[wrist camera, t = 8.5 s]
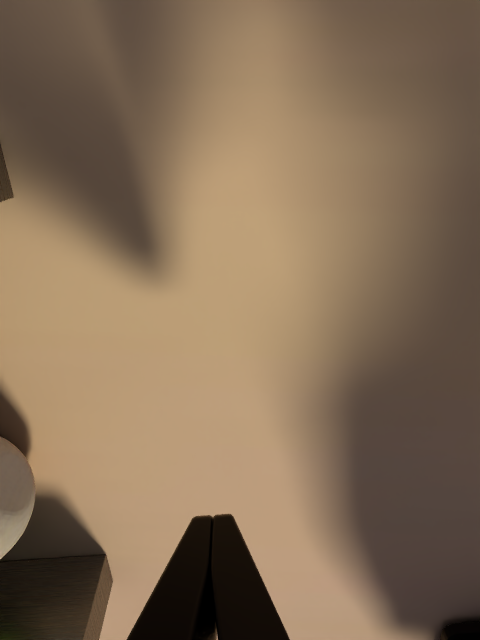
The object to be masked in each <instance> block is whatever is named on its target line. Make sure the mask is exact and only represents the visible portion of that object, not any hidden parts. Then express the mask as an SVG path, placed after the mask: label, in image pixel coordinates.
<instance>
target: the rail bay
mask: <svg viewBox="0 0 480 640" xmlns="http://www.w3.org/2000/svg"><path fill="white" fill-rule="evenodd" d="M10 198H13V193H12V189H11V185H10V181H9V177H8V173H7V170H6V166H5V162H4V158H3V154H2V150H1V146H0V202H2V201H5V200H7V199H10ZM112 583H113V580H112V577H111V573H110V569H109V565H108V561H107V557H106V555H96V556H81V557H67V558H52V559H37V560H23V561H8V562H0V640H99V638H100V633H101V629H102V625H103V621H104V617H105V612H106V608H107V604H108V600H109V596H110V591H111V587H112Z"/></svg>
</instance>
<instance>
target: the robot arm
mask: <svg viewBox="0 0 480 640" xmlns="http://www.w3.org/2000/svg"><path fill="white" fill-rule="evenodd" d="M217 635H218V640H290V639H289V637H288V634H287V632H286V630H285V628H284V626H283V624H282V621H281V619H280V617H279V615H278V613H277V611H276V608H275V606H274V604H273V602H272V600H271V597H270V595H269V593H268V591H267V589H266V587H265V584H264V582H263V580H262V578H261V576H260V574H259V571H258V569H257V567H256V565H255V563H254V560H253V558H252V556H251V554H250V552H249V550H248V547H247V545H246V543H245V541H244V539H243V537H242V534H241V532H240V530H239V528H238V526H237V524H236V521H235V519H234V517H233V516H232V515H231V514H221V515H215V516H214V517H212V516H210V515H207V516H196V517H194V518H193V519H192V520H191V522H190V524H189V526H188V528H187V529H186V531H185V533H184V535H183V537H182V539H181V540H180V542H179V544H178V546H177V548H176V550H175V552H174V553H173V555H172V557H171V559H170V561H169V563H168V564H167V566H166V568H165V570H164V572H163V574H162V575H161V577H160V579H159V581H158V583H157V585H156V587H155V588H154V590H153V592H152V594H151V596H150V598H149V599H148V601H147V603H146V605H145V607H144V609H143V611H142V612H141V614H140V616H139V618H138V620H137V622H136V623H135V625H134V627H133V629H132V631H131V633H130V634H129V636H128V638H127V640H216V639H217ZM440 640H480V622H468V623H455V624H450V625H448V626H446V627H445V628H444V629H443V630H442V633H441V638H440Z"/></svg>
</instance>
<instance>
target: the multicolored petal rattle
mask: <svg viewBox="0 0 480 640" xmlns="http://www.w3.org/2000/svg"><path fill="white" fill-rule="evenodd" d="M34 502H35V481H34V476H33V473H32V470H31V467H30V465H29V463H28V461H27V459H26V458H25V456H24V455H23V454H22V452H21V451H20V450H19V449H18V448H17V447H16V446H14V445H13V444H12V443H11V442H9V441H8V440H6V439H4V438H2V437H0V559H1V558H2V557H3V556H4V555H5V554H6V553H7V552H8V551H9V550H10V549H11V548H12V547H13V546H14V545H15V544H16V542H17V541H18V540H19V538H20V537H21V535H22V534H23V532H24V530H25V529H26V527H27V525H28V522H29V520H30V517H31V515H32V511H33V507H34Z"/></svg>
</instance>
